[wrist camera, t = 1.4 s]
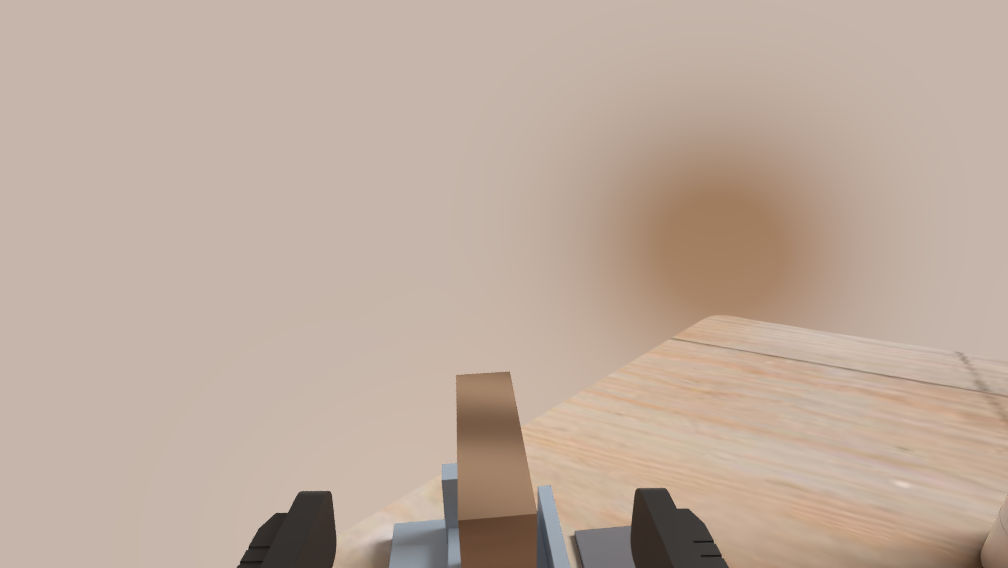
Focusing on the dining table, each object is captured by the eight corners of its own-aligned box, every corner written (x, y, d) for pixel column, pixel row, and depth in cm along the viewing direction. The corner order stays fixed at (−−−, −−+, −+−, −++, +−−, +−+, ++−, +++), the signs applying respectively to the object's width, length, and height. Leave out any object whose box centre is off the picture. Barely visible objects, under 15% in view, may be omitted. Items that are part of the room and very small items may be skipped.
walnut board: (468, 576, 34) (456, 375, 28) (512, 572, 34) (509, 371, 28) (474, 760, 25) (458, 520, 19) (534, 753, 25) (537, 513, 19)
